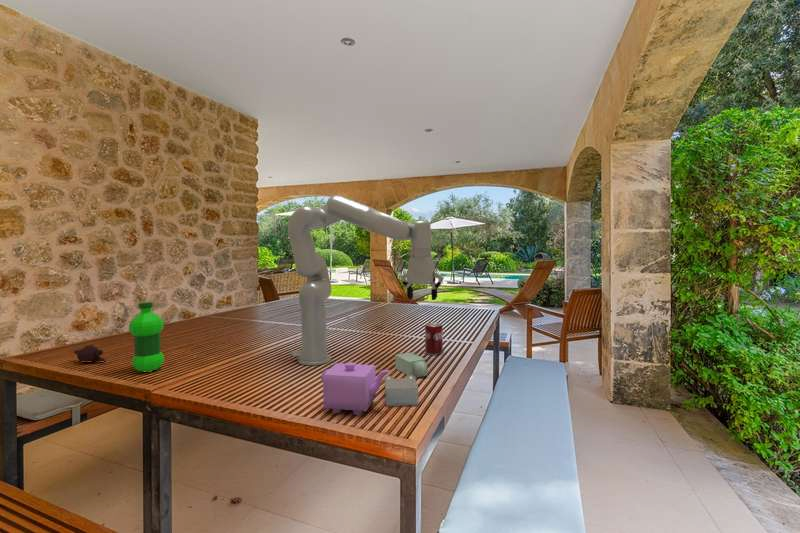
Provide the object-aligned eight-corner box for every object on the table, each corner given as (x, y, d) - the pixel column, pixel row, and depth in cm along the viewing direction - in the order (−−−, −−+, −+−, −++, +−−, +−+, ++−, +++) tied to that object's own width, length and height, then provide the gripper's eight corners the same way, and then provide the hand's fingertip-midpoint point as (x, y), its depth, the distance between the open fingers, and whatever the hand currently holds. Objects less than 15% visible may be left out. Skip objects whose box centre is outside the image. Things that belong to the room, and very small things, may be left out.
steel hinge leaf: (386, 406, 108) (386, 388, 108) (384, 389, 120) (384, 373, 120) (418, 405, 109) (418, 387, 108) (413, 388, 121) (413, 373, 121)
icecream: (61, 348, 149) (91, 354, 145) (81, 339, 156) (110, 344, 152) (66, 363, 151) (96, 370, 148) (85, 354, 158) (114, 359, 154)
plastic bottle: (157, 364, 148) (154, 300, 147) (170, 369, 142) (167, 302, 141) (127, 371, 140) (123, 303, 138) (139, 377, 134) (136, 305, 132)
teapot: (314, 413, 104) (313, 367, 103) (328, 398, 114) (327, 356, 113) (387, 418, 100) (386, 371, 100) (394, 403, 110) (394, 359, 110)
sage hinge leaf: (415, 380, 129) (415, 365, 128) (395, 368, 141) (395, 354, 141) (432, 376, 132) (432, 362, 132) (410, 365, 144) (410, 352, 144)
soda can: (444, 351, 162) (444, 323, 162) (440, 356, 156) (440, 326, 155) (427, 350, 165) (427, 322, 164) (423, 354, 158) (422, 325, 157)
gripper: (396, 254, 145) (397, 299, 146) (439, 253, 138) (440, 301, 139) (404, 253, 152) (405, 296, 153) (446, 253, 144) (447, 298, 145)
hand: (422, 299), depth 146 cm, fingers open, 9 cm apart
